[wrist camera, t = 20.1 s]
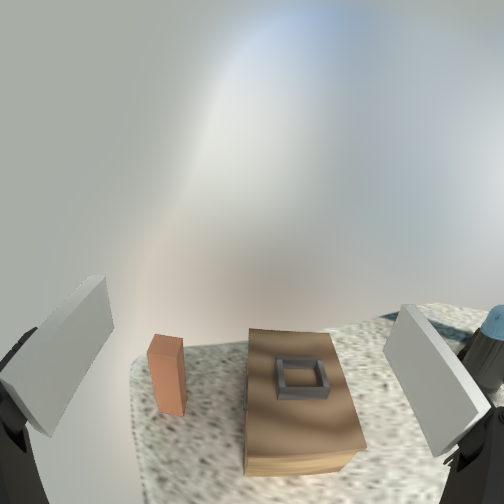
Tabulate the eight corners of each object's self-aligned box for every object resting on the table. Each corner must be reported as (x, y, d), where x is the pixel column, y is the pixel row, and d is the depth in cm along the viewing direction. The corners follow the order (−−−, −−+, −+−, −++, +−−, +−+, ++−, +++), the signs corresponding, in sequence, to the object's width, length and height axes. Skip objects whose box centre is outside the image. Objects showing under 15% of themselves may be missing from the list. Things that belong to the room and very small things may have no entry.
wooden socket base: (243, 363, 50) (249, 319, 46) (317, 366, 51) (331, 324, 47) (239, 477, 27) (247, 447, 23) (342, 473, 28) (373, 439, 24)
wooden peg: (164, 394, 40) (155, 333, 35) (187, 398, 40) (182, 338, 35) (159, 411, 36) (146, 352, 31) (183, 416, 36) (176, 357, 31)
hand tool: (464, 366, 48) (473, 353, 46) (454, 359, 51) (462, 345, 49) (482, 342, 57) (488, 330, 55) (473, 336, 60) (479, 324, 58)
